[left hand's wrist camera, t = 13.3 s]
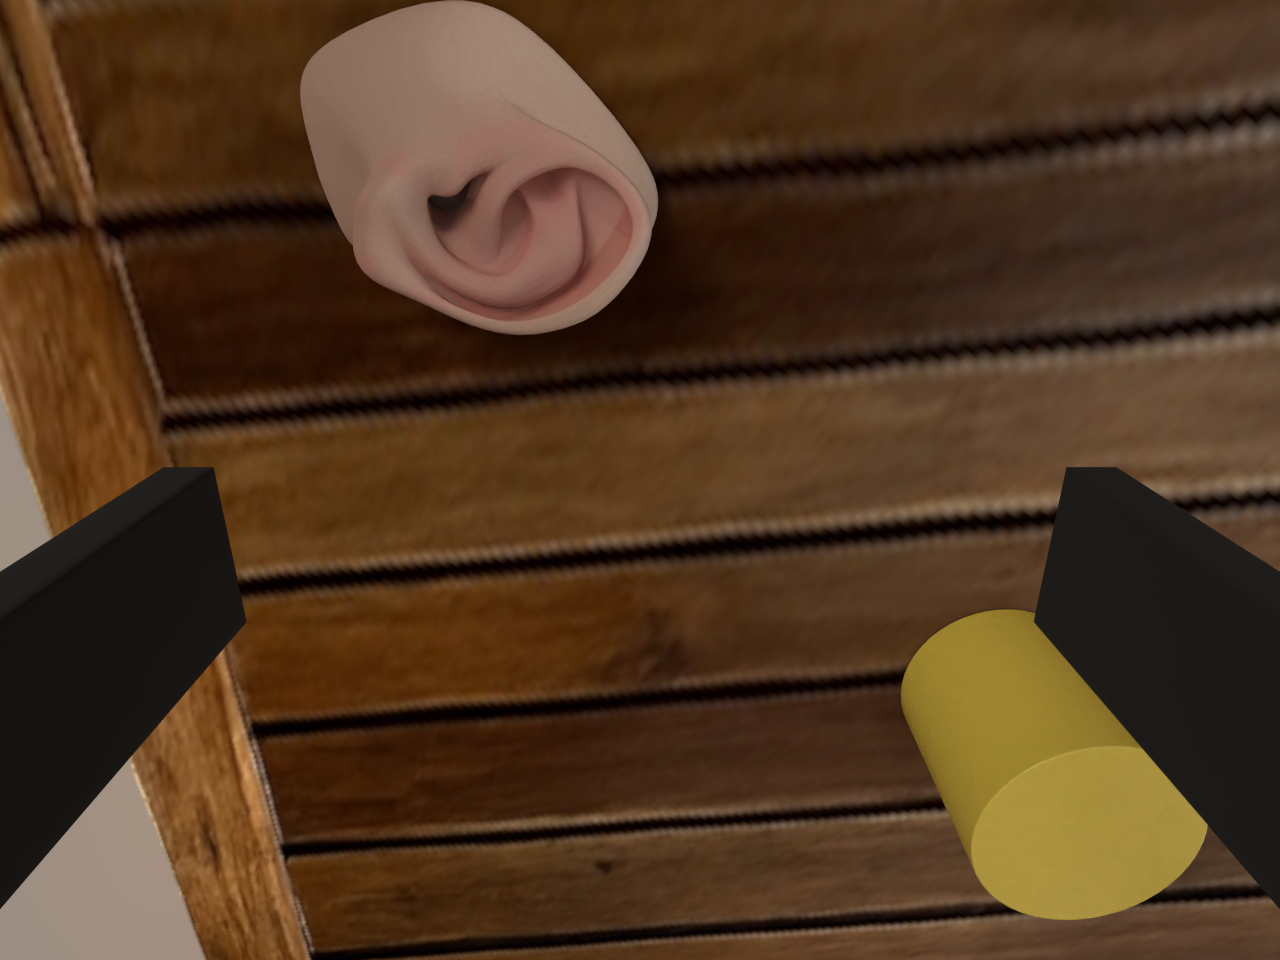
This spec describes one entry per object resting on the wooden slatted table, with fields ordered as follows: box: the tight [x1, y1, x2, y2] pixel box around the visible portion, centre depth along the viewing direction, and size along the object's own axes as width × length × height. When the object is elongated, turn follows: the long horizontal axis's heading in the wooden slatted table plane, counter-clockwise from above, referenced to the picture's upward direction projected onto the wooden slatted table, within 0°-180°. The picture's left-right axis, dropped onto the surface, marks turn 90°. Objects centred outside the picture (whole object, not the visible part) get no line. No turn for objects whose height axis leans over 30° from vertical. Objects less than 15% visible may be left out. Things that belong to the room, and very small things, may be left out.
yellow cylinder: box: [901, 609, 1208, 920], centre depth 36 cm, size 9×9×10 cm
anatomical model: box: [300, 0, 658, 335], centre depth 29 cm, size 13×4×12 cm
